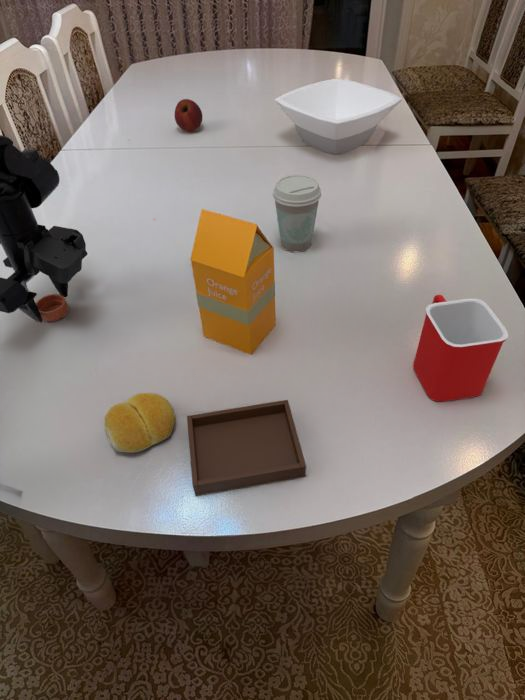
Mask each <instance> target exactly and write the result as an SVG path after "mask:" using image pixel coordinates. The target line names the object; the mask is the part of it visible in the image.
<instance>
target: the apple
mask: <svg viewBox="0 0 525 700" xmlns="http://www.w3.org/2000/svg"><path fill="white" fill-rule="evenodd" d="M174 121H175V124H176V125H177V126H178V127H179V128H180V129H181V130H182V131H185V132H187V133H188V132H189V133H190V132H194V131H196V130H198V129H199V128H200V127H201V125H202V123H203V112H202V109H201V108H200V106H199V105H198V103H196V102H195V101H193V100H192V99H189V98H183V99H180V100H179V101H178V102H177V104H176V106H175V109H174Z"/></svg>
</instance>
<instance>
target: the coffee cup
mask: <svg viewBox="0 0 525 700" xmlns="http://www.w3.org/2000/svg"><path fill="white" fill-rule="evenodd" d="M321 197H322V189H321V187H320V184H319V181H318V180H317V179H316V178H314V177H313V176H310V175H307V174H289V175H285V176H282V177H280V178H279V179H278V180H277V181H276V182H275V185H274V188H273V190H272V198H273V199H274V205H275V211H276V218H277V225H278V232H279V233H278V234H279V238H280V245H281V247H282V248H283V249H284V250H286V251H289V252H295V253H297V252H304V251H306V250H309V248H311V246H312V242H313V237H314V232H315V225H316V220H317V215H318V214H317V213H318V208H319V201H320V199H321Z"/></svg>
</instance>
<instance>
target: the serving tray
mask: <svg viewBox="0 0 525 700" xmlns="http://www.w3.org/2000/svg"><path fill="white" fill-rule="evenodd" d="M186 421H187V431H188V432H187V433H188V447H189V457H190V468H191V469H190V470H191V481H192V482H191V483H192V488H193V492H194V495H195V496H197V497H198V496H203V495H210V494H214V493H219V492H226V491H231V490H237V489H243V488H249V487H255V486H259V485H265V484H272V483H277V482H283V481H289V480H293V479H294V480H295V479H300V478H306V476H307V475H306V471H307V465H306V461H305V458H304V454H303V451H302V446H301V443H300V439H299V436H298V432H297V429H296V425H295V421H294V417H293V413H292V410H291V406H290V403H289V399H284V400H277V401H269V402H264V403H259V404H252V405H246V406H240V407H233V408H227V409H220V410H215V411H208V412H203V413H197V414H190V415H187V416H186Z"/></svg>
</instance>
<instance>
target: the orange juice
mask: <svg viewBox="0 0 525 700" xmlns="http://www.w3.org/2000/svg"><path fill="white" fill-rule="evenodd" d="M274 248H275V247H274V246H273V245H272V244H271V242H270V241H269V240H268V238H267V237H266V235H265V234H264V233H263V231H262V230H261V229H260V227H259V226H258V224H257V223H255V222H251V221H246V220H243V219H240V218H236V217H232V216H229V215H225V214H221V213H218V212H214V211H211V210H207V209H204V208H201V210H200V214H199V219H198V224H197V228H196V232H195V237H194V241H193V245H192V250H191V256H190V258H189V260H190V263H191V269H192V276H193V281H194V287H195V295H196V300H197V307H198V311H199V317H200V322H201V329H202V334H203V337H205V338H208V339H210V340H212V341H215V342H217V343H220V344H223V345H225V346H227V347H230V348H233V349H235V350H238V351H240V352H243V353H245V354H248V355H250V356H252V355H253V353H255V351H256V350H257V349H258V347H259V346H260V345H261V344H262V342H263V341H264V340H265V339H266V338H267V336H268V335H269V334H270V333H271V332H272V330H273V329H274V328H275V327H276V326H277V323H276V321H277V320H276V281H275V249H274Z"/></svg>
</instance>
